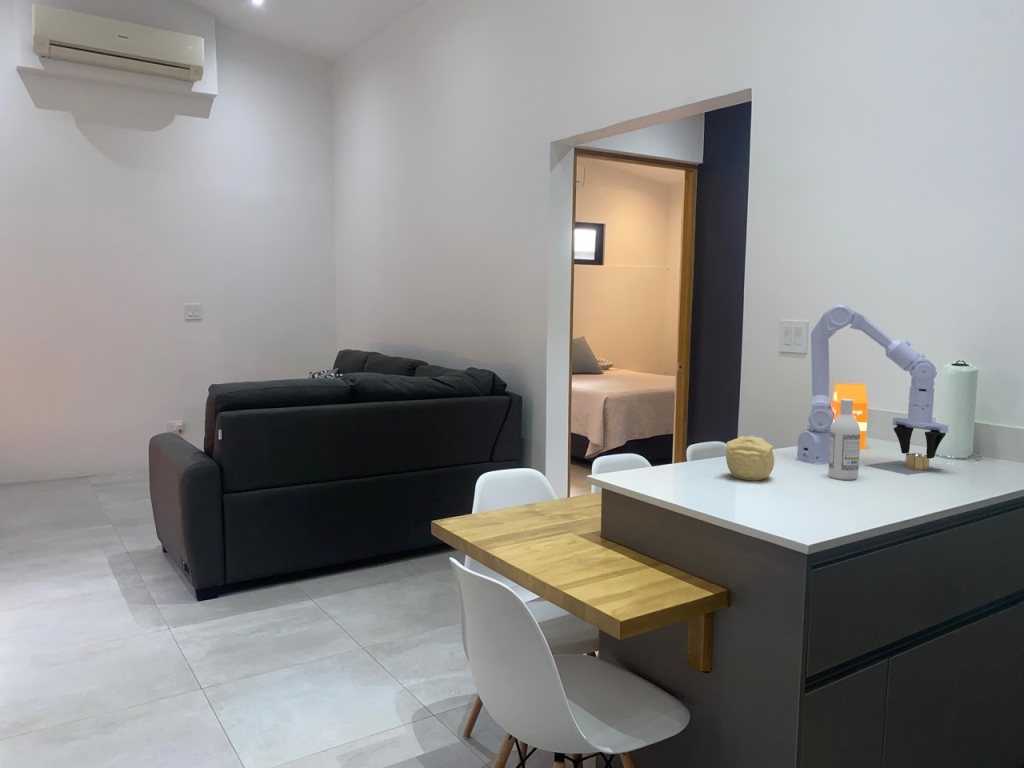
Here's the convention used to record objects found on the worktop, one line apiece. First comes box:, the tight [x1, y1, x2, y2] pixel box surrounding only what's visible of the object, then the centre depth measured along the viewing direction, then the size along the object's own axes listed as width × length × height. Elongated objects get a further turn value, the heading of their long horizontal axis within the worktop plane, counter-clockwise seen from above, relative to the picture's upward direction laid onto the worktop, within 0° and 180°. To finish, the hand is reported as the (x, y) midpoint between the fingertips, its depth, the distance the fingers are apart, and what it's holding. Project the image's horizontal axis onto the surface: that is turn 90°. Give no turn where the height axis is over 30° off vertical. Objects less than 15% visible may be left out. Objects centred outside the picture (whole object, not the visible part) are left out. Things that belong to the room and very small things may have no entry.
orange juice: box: [831, 382, 869, 450], centre depth 232 cm, size 8×9×20 cm
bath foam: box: [828, 399, 861, 481], centre depth 190 cm, size 7×7×20 cm
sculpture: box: [725, 435, 775, 481], centre depth 189 cm, size 12×12×11 cm
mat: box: [863, 460, 945, 476], centre depth 202 cm, size 15×13×1 cm
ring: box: [904, 452, 930, 471], centre depth 200 cm, size 5×5×4 cm
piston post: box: [912, 452, 923, 457], centre depth 200 cm, size 2×2×4 cm
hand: (917, 455), depth 200 cm, fingers open, 7 cm apart
